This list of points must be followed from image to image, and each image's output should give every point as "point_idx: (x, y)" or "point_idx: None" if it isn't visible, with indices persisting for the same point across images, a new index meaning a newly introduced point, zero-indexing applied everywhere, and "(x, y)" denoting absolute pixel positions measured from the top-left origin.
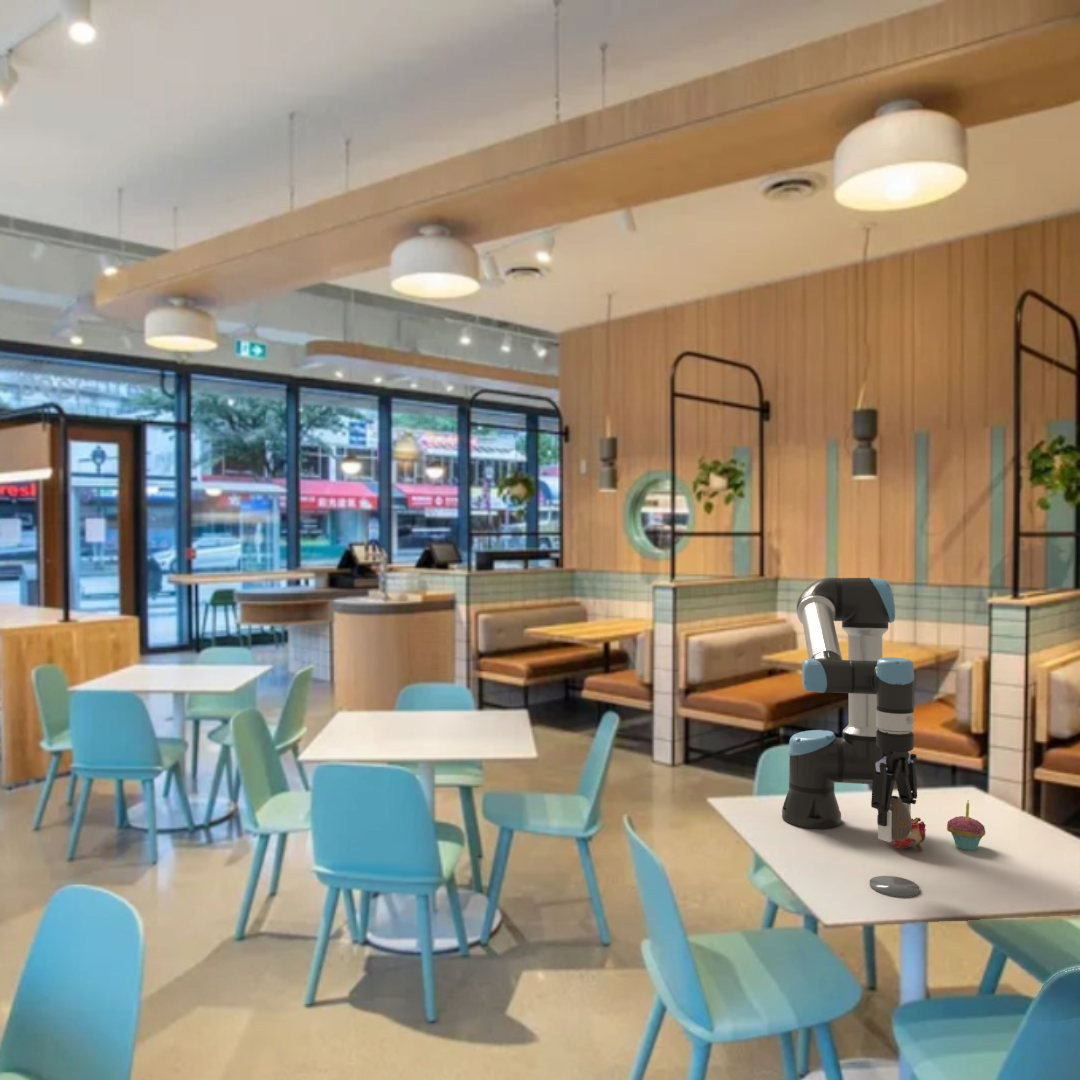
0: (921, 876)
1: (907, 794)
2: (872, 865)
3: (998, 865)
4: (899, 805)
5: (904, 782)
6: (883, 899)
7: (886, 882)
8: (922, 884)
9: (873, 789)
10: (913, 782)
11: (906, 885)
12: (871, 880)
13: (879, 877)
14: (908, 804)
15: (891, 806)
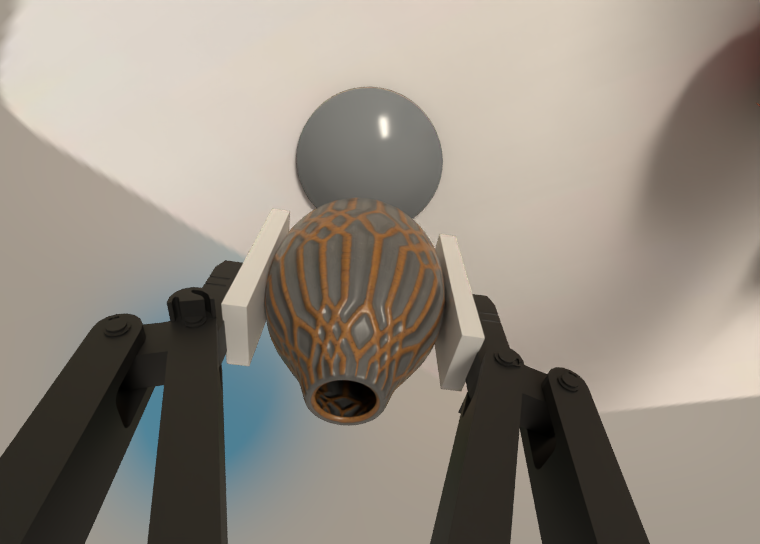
0: (513, 191)
1: (455, 439)
2: (531, 17)
3: (705, 305)
4: (320, 397)
5: (434, 536)
6: (263, 173)
7: (370, 142)
8: (450, 213)
9: (16, 450)
10: (541, 532)
11: (389, 196)
12: (350, 96)
13: (397, 107)
14: (449, 385)
15: (288, 364)
